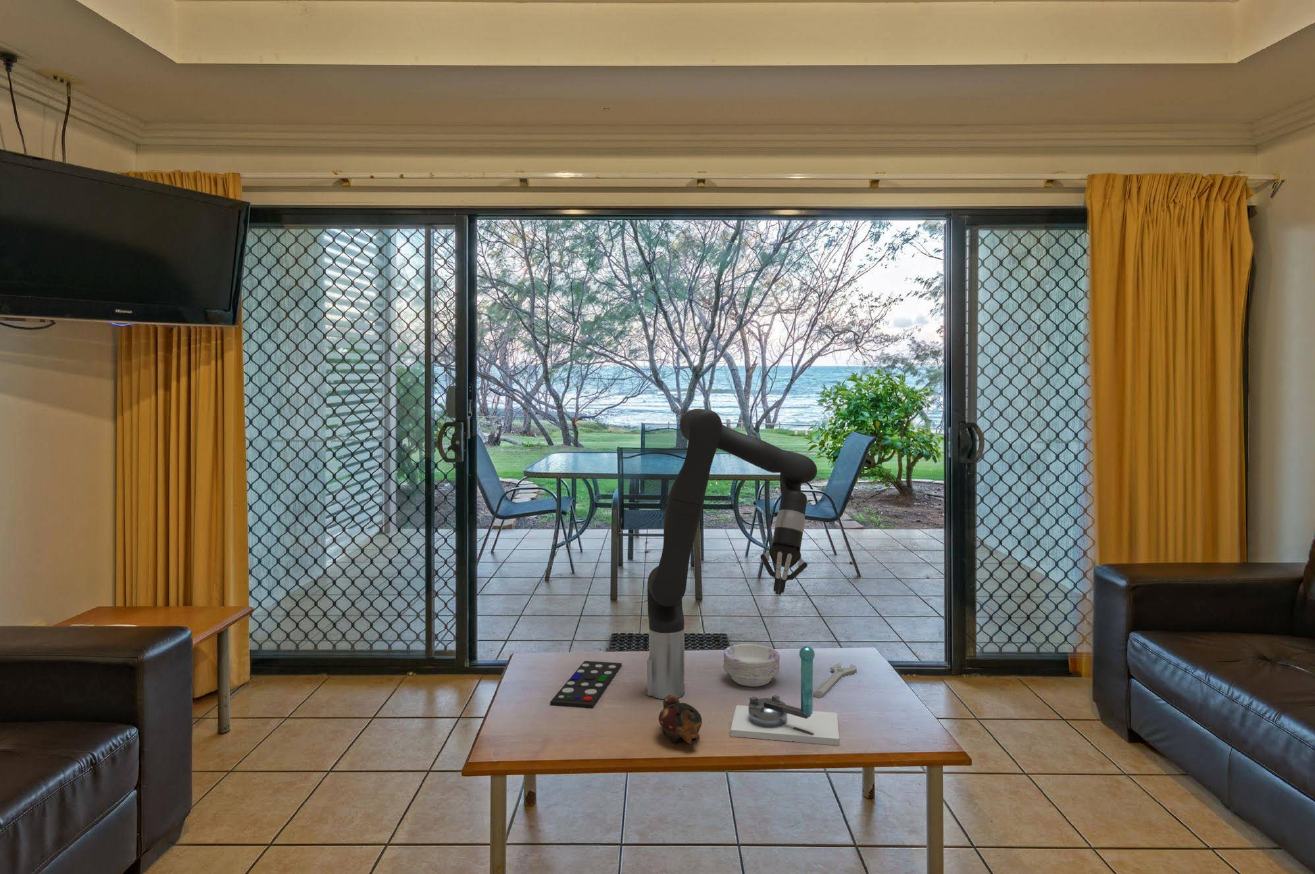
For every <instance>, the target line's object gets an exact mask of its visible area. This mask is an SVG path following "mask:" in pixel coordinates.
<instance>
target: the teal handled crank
mask: <svg viewBox="0 0 1315 874" xmlns="http://www.w3.org/2000/svg"><path fill="white" fill-rule="evenodd" d="M798 654H799V658H800V708H799V707H795V706H792V705H789V704H786V703H785V702H784V701H782V700H781V699H780V697H781V696H779V695H776V694H774V695H772V696H771V698H769V697H767V698H766V697H763V698H761V697H760V698H758V697H756V696H755V695H753V696H751V697H749V702H748V705H747V706H748V718H749V720H750V721H751V722H752V723H754V724H756V725H759V726H765V727H776V726H781V725H783V724H785V723H786V722H787V713H788V714H791V715H795V716H798V717H802V718H805V719H807V718H809V717H810V716H811V714H812V713H813V711H814V710H813V707H814V706H813V705H814V703H813V702H814V698H813V697H814V696H813V690H814V689H813V686H814V681H813V680H814V679H813V677H814V674H813V673H814V670H813V669H814V667H813V666H814V662H813V661H814V658H815V657H816V656H815V651H814V649H813V648H812V647H811V646H808V645H804V646H802V647H801V648H800V649H799V653H798Z"/></svg>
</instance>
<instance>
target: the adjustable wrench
mask: <svg viewBox="0 0 1315 874" xmlns="http://www.w3.org/2000/svg"><path fill="white" fill-rule="evenodd" d="M830 673H832V674H831V675H830V676H828V678H827V679H825V680H824V681H823V682H822V683H821V684H820V685H819V686H818V687H816V688H815V689H813V690H814V691H813V697H814V698H816V699H822V698H825V696H826V695H827V694H828V693H829V692H831V690H832V689H833V688H834V687H835V686H836V685H837V684H838V683H839V682H840V681H841V680H842V679H843V678H846V677H849V676H853V675H856V674H857V666H856V665H854V664H850V666H849V667H842V664H841V663H837V664H834V665H833V666H830ZM855 673H856V674H855ZM848 675H849V676H848ZM845 676H846V677H845ZM842 677H843V678H842ZM841 678H842V679H841ZM840 679H841V680H840ZM839 680H840V681H839ZM838 681H839V682H838ZM837 682H838V683H837ZM836 683H837V684H836ZM835 684H836V685H835ZM834 685H835V686H834ZM832 687H833V688H832Z"/></svg>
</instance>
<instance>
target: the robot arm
mask: <svg viewBox="0 0 1315 874" xmlns="http://www.w3.org/2000/svg"><path fill="white" fill-rule="evenodd" d="M679 430H680V433H681V435H682V436H683V437H684V438H685V439H686V441H688V442H687V447H686V453H685V454H686V455H685V458H684V462H683V464H682V466H681V468H680V470H679V472H678V474H677V476H676V477H675V479H674V481H673V483H672V486H671V488H670V490H669V494H668V497H667V502H666V507H665V511H664V517H663V518H664V521H663V543H662V544H663V545H662V552H661V556H660V559H659V562H658V565H657V566H656V567H654V568H653V569H652V570H651V571H650V573H649V574H648V578H647V584H646V585H647V588H646V591H647V595H646V597H647V617H648V638H649V640H648V643H649V644H648V646H649V647H648V649H649V650H648V651H649V652H648V654H649V655H648V658H647V660H646V663H647V665H646V666H647V669H646V670H647V671H646V672H647V673H646V674H647V677H646V678H647V696H650V697H653V698H655V699H660V700H664V699H665V698H666V696H668V695H674V696H676V697H677V698H678V699H680V697H681V698H682V696H684V694H685V691H686V690H685V687H686V685H685V684H686V683H685V681H686V680H685V674H686V673H685V671H686V670H685V667H686V666H685V616H684V610H683V599H684V596H685V593H686V590H687V583H688V575H689V574H688V573H689V567H690V566H689V565H690V559H691V558H690V557H691V554H692V550H693V546H694V542H695V540H696V536H697V533H698V529H699V525H700V520H701V516H702V512H703V507H704V503H705V498H706V492H707V488H708V483H709V478H710V473H711V469H712V464H713V461H714V458H715V455H716V452H717V450H722V451H723V452H725V453H727V454H728V453H729V454H730V455H733V456H735V457H737V458H738V459H740V460H743V461H745V462H747V463H749V464H751V465H753V466H755V467H757V468H760V469H762V470H764V471H766V472H769V473H772V474H777V473H778V474H779V484H780V485H779V486H780V496H781V497H780V501H779V506H778V507H779V508H778V512H777V515H776V519H775V524H774V531H773V537H772V542H771V546H770V547H769V549H768V552H765V553H761V554H760V558H759V559H760V560H761V562H762V563H763V565H764V568H765V569H766V571H767V573H768V575H769V576H770V577H772V578H774V582H773V583H774V584H773V588H772V589H773V590H772V591H773V592H774V593H775V595H779V596H781V595H782V594H784V593H785V590H786V589H785V588H786V583H787V581H793V580H794V579H795V578H797V577H798V576H799V574H801V573H802V572H803V571H804V570H806V569H807V568H808V565H809V564H808V563H807V562H806V561H805V560H804V559H803V558H802V554H801V547H802V542H803V536H804V530H805V529H804V528H805V517H806V510H807V504H808V497H807V495H806V494H805V493H804V492H802V484H806V483H810V482H811V481H813V480H814V479H815V478H816V477H817V475H818V467H817V464H816V463H815V461H813V459H812V458H810V457H808V456H806V455H804V454H802V453H799V452H798V453H797V452H794V451H790V450H785V449H782V448H781V447H778V446H776V445H774V444H771V443H769V442H767V441H765V440H762V439H760V438H758V437H754V436H752V435H748V434H746V433H743V432H739V431H737V430H735V429H732V428H731V427H728V426H726V425H724V424H723V421H722V418H721V417H720V416H719V414H718V413H717V412H715V411H714V410H711V409H706V408H705V409H704V408H692V409H689V410H688V411H686V412H685V413H684V414H683V415H682V416H681V418H680V420H679ZM770 558H771V560H772V562H773V564H774V565H775V566H776V568H775V571H774V569H773V568H772V566H771V564H770V562H769V561H770ZM797 563H798V564H797ZM796 564H797V568H796V569H795V570H794V571H793V572H791V573H790V574H789V571H790V569H791V568H793V567H794V566H795V565H796ZM782 568H783V572H782V576H781V571H782Z"/></svg>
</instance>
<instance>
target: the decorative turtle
mask: <svg viewBox="0 0 1315 874" xmlns="http://www.w3.org/2000/svg"><path fill="white" fill-rule="evenodd" d="M679 699H680V698H677V697H676V696H674V695H668V696H666V698H665V699H663V701H662V702H663V705H662V706H663V709H662V710H660V712H659V714H658V722H659V725H660V727H661V730H662V733H663V734H664V735H665V736H666V737H667V738H668V740H669V742H670V743H671V744H676V743H678V741H679V740H680V739H682V740H684V741H685V742H686V743H687V744H689V745H695V744H697V743H698V742H699V739H700V734H699V732H700V729H701V728H702V724H703V718H702V716H701V714H700V712H699V711H698V710H697V709H696V708H695V707H694V706H692V705H691V704H688V703H685V702H680V700H679Z"/></svg>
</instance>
